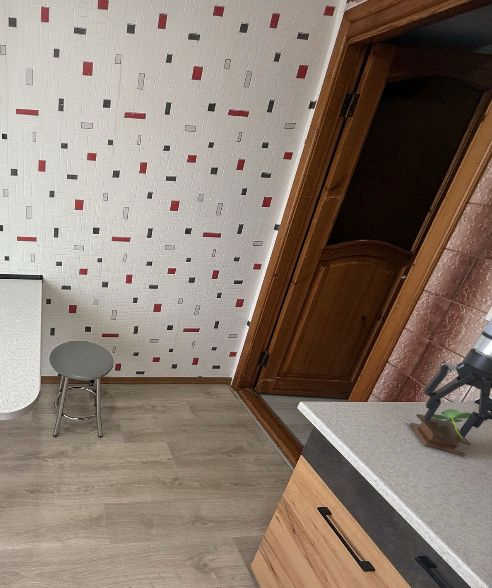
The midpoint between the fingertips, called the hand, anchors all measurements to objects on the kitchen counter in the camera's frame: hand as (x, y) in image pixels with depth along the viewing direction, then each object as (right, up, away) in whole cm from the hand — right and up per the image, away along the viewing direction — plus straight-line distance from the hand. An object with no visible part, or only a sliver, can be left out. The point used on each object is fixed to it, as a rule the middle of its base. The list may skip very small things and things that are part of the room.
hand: (444, 425), depth 90 cm
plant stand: (0, -5, +2) cm, 5 cm away
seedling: (0, 0, 0) cm, 1 cm away
